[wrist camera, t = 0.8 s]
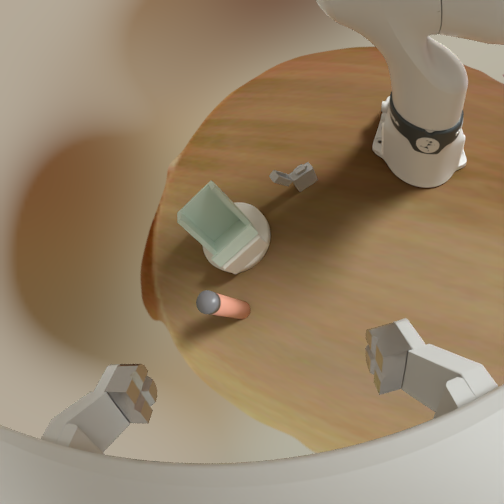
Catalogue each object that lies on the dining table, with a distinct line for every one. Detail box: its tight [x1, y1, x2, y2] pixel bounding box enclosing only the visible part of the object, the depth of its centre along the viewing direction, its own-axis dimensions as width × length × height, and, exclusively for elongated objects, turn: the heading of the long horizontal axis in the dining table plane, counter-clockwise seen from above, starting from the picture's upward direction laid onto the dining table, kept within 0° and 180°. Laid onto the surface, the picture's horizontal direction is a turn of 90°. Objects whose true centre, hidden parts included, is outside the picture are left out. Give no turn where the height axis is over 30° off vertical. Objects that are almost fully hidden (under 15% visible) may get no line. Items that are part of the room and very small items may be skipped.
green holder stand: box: [177, 180, 271, 274], centre depth 50 cm, size 13×13×12 cm
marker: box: [196, 290, 250, 319], centre depth 46 cm, size 3×3×12 cm
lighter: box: [269, 162, 318, 192], centre depth 49 cm, size 7×2×8 cm, turn 118°
